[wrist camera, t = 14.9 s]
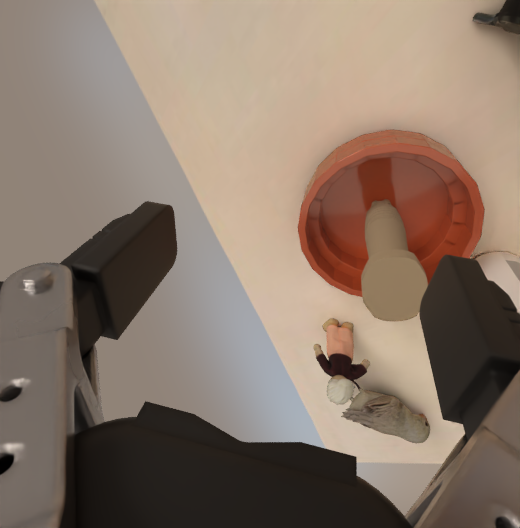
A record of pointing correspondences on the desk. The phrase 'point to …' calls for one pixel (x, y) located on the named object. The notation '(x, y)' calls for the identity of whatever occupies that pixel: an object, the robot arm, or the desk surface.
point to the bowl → (400, 196)
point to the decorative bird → (387, 416)
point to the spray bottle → (503, 272)
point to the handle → (390, 267)
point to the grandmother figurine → (340, 361)
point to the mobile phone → (503, 17)
